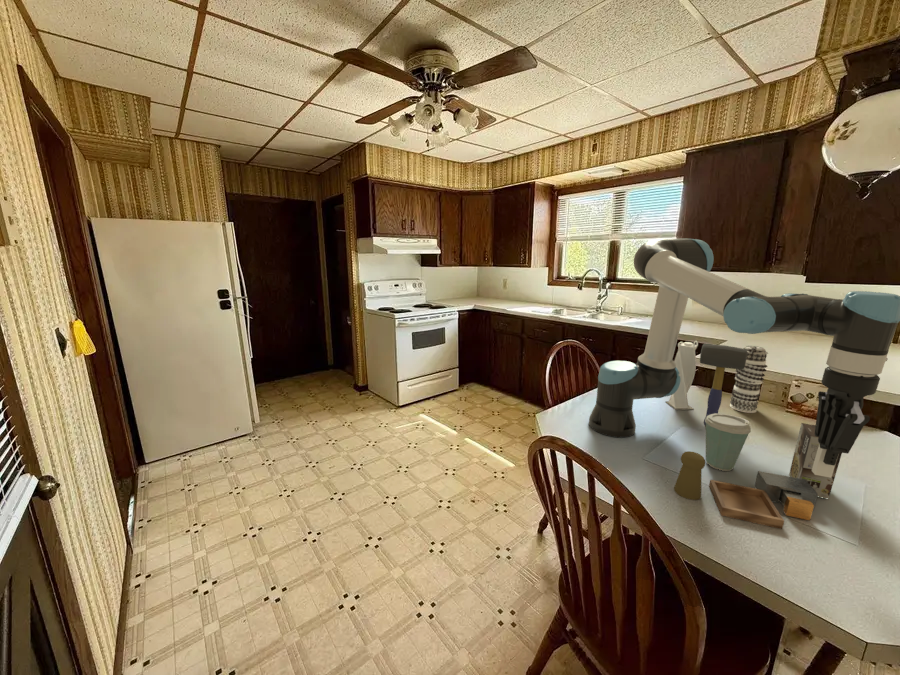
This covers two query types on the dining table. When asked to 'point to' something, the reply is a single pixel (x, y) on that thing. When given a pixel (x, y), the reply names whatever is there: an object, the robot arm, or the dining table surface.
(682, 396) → the skyscraper
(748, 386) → the white patterned cylinder
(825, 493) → the coffee box
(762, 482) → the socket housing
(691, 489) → the cork
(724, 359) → the rubber mallet
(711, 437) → the disposable coffee cup
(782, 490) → the orange and gray block
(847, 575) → the dining table surface
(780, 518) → the tray
